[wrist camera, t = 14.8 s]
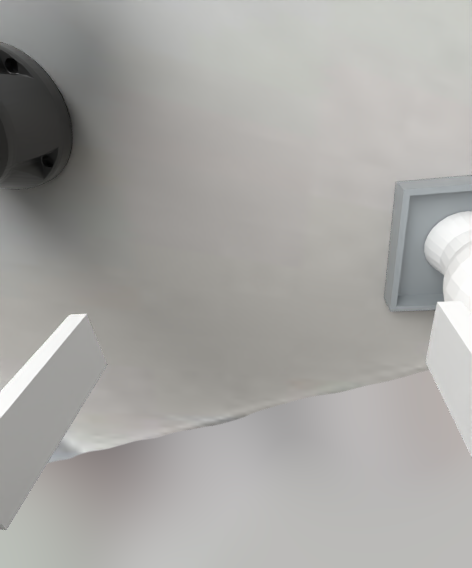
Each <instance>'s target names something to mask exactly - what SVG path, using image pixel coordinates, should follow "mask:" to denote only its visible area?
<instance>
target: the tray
mask: <svg viewBox="0 0 472 568" xmlns="http://www.w3.org/2000/svg"><path fill="white" fill-rule="evenodd" d="M465 211H472V175H467V176H456V177H445V178H433V179H422V180H411V181H399V182H396V185H395V195H394V205H393V215H392V224H391V234H390V244H389V254H388V264H387V274H386V283H385V293H384V299H385V301H386V304H387V306H388V308H389V310H390V311H417V310H436V305H437V302H444V295H443V279H444V275H443V274H442V273H440V272H439V271H437V270H436V269H435V268H434V267H432V266H431V265H430V264H429V262H428V261H427V259H426V257H425V253H424V244H425V241H426V238H427V236H428V234H429V233H430V231H431V230H432V228H433V227H434V226H436V225H437V224H438V223H439V222H440V221H441V220H443V219H445V218H446V217H448V216H450V215H453V214H456V213H459V212H465Z"/></svg>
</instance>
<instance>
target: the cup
mask: <svg viewBox="0 0 472 568" xmlns="http://www.w3.org/2000/svg"><path fill="white" fill-rule="evenodd" d="M424 253H425V257H426V259H427V261H428V262H429V264H430V265H431V266H432V267H434V268H435V269H436V270H437V271H439V272H440V273H442V274H443V275H444V279H443V295H444V302H449V301H462V302H463V304H464V305H465V306H466V308H467V309H468V310H469V311H470V313H471V314H472V211H465V212H459V213H456V214H453V215H450V216H448V217H446V218H445V219H443V220H441V221H440V222H439V223H438V224H437V225H436V226H434V227H433V228H432V230H431V231H430V233H429V234H428V236H427V238H426V241H425V244H424Z"/></svg>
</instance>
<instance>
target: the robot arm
mask: <svg viewBox="0 0 472 568" xmlns="http://www.w3.org/2000/svg"><path fill="white" fill-rule="evenodd" d="M71 147H72V128H71V122H70V117H69V114H68V110H67V108H66V105H65V103H64V100H63V98H62V96H61V94H60V92H59V90H58V89H57V87H56V85H55V84H54V82H53V81H52V80H51V78H50V77H49V76H48V74H47V73H46V72H45V71H44V70H43V69H42V68H41V67H40V66H39V65H38V64H37V63H36V62H35V61H34V60H33V59H32V58H30V57H29V56H28V55H26V54H25V53H23V52H22V51H20V50H18V49H17V48H15V47H13V46H11V45H8V44H6V43H3V42H0V188H5V189H26V188H31V187H35V186H38V185H40V184H42V183H45V182H47V181H49V180H51V179H53V178H54V177H56V176H57V175H58V174H59V173H60V172H61V171H62V169H63V168H64V167H65V165H66V163H67V161H68V158H69V156H70V152H71ZM426 364H427V366H428V368H429V370H430V372H431V374H432V376H433V379H434V381H435V383H436V385H437V387H438V389H439V391H440V393H441V395H442V397H443V399H444V401H445V403H446V405H447V408H448V410H449V412H450V414H451V416H452V418H453V420H454V422H455V424H456V426H457V428H458V430H459V432H460V434H461V436H462V439H463V441H464V442H465V445H466V447H467V449H468V451H469V453H470V455H471V457H472V314H471V313H470V311H469V310H468V309H467V308H466V306H465V305H464V304H463V302H462V301H449V302H437V305H436V310H435V315H434V321H433V326H432V331H431V336H430V341H429V347H428V352H427V357H426ZM107 365H108V364H107V362H106V359H105V357H104V354H103V352H102V350H101V347H100V345H99V342H98V340H97V337H96V335H95V332H94V330H93V327H92V325H91V323H90V320H89V318H88V315H87V314H70V315H69V316H68V317H67V318H66V319H65V320H64V321H63V323H62V324H61V325H60V326H59V327H58V328H57V329H56V330H55V331H54V333H53V334H52V335H51V336H50V337H49V338H48V339H47V340H46V341H45V343H44V344H43V345H42V346H41V347H40V348H39V349H38V350H37V351H36V353H35V354H34V355H33V356H32V357H31V358H30V359H29V360H28V362H27V363H26V364H25V365H24V366H23V367H22V368H21V369H20V370H19V372H18V373H17V374H16V375H15V376H14V377H13V378H12V379H11V380H10V382H9V383H8V384H7V385H6V386H5V387H4V388H3V389H2V391H0V529H2V530H3V529H4V530H7V528H8V527H9V525H10V523H11V522H12V520H13V518H14V517H15V515H16V513H17V512H18V510H19V509H20V507H21V505H22V504H23V502H24V500H25V499H26V497H27V495H28V494H29V492H30V491H31V489H32V487H33V486H34V484H35V482H36V481H37V479H38V478H39V476H40V474H41V473H42V471H43V469H44V468H45V466H46V464H47V463H48V461H49V460H50V458H51V456H52V455H53V453H54V451H55V450H56V448H57V447H58V445H59V443H60V442H61V440H62V438H63V437H64V435H65V433H66V432H67V430H68V429H69V427H70V425H71V424H72V422H73V420H74V419H75V417H76V415H77V414H78V412H79V411H80V409H81V407H82V406H83V404H84V402H85V401H86V399H87V398H88V396H89V394H90V393H91V391H92V389H93V388H94V386H95V384H96V383H97V381H98V380H99V378H100V376H101V375H102V373H103V371H104V370H105V368H106V366H107Z"/></svg>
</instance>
